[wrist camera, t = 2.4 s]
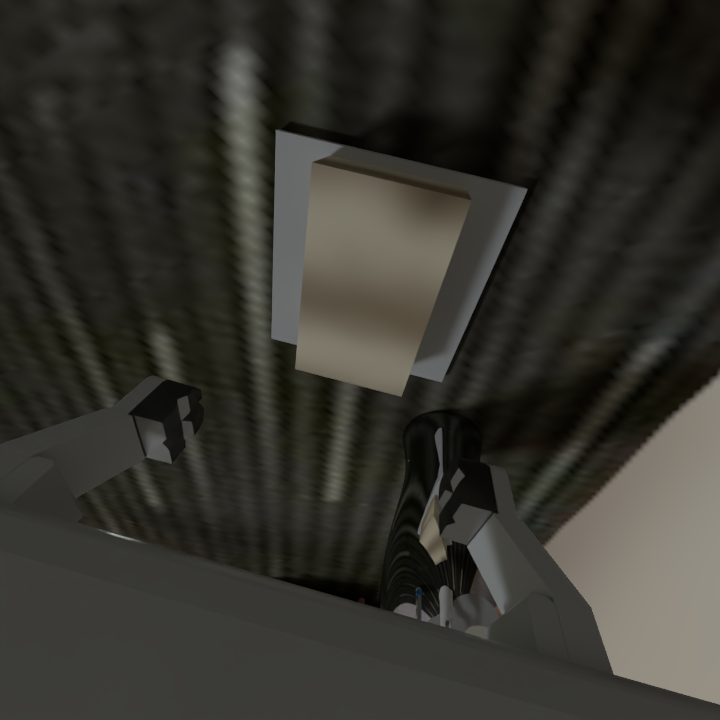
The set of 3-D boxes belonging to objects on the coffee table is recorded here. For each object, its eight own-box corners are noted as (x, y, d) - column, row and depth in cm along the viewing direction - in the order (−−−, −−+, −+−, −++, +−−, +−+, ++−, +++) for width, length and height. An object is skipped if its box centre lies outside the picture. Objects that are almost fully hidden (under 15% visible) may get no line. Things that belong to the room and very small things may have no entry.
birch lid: (330, 155, 16) (311, 162, 13) (465, 187, 16) (471, 200, 13) (309, 342, 22) (295, 368, 20) (404, 366, 22) (401, 396, 20)
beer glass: (473, 398, 24) (514, 685, 12) (497, 459, 27) (548, 734, 15) (384, 417, 26) (343, 666, 14) (415, 471, 29) (403, 711, 18)
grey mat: (280, 129, 16) (276, 129, 16) (524, 187, 16) (527, 189, 15) (274, 333, 23) (271, 338, 23) (441, 376, 23) (441, 382, 22)
